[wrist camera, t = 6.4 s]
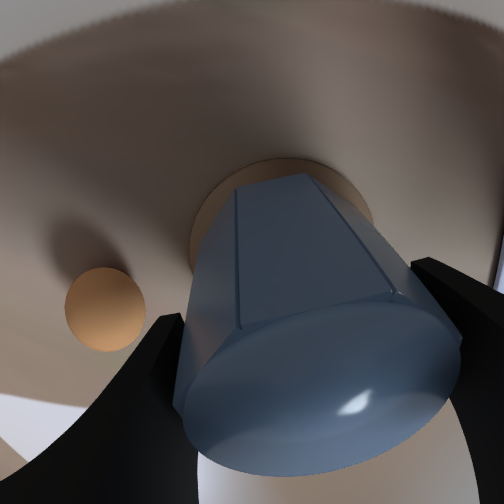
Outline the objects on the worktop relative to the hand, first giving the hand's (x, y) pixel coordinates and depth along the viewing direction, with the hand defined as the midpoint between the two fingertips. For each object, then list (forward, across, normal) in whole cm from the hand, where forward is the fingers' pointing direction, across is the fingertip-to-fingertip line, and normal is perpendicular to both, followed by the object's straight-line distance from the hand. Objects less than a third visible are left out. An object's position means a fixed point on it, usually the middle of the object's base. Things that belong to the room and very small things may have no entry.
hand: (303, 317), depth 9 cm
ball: (+2, +7, 0) cm, 7 cm away
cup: (+3, 0, 0) cm, 3 cm away
